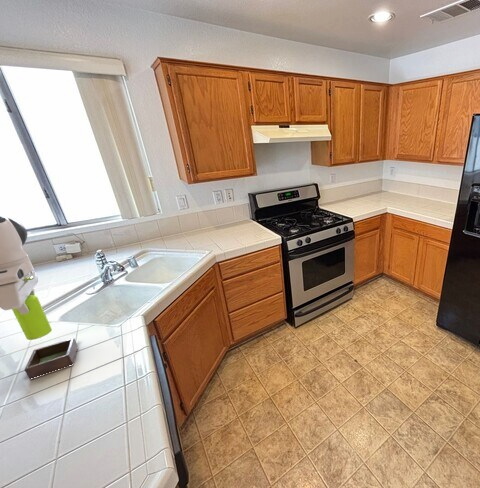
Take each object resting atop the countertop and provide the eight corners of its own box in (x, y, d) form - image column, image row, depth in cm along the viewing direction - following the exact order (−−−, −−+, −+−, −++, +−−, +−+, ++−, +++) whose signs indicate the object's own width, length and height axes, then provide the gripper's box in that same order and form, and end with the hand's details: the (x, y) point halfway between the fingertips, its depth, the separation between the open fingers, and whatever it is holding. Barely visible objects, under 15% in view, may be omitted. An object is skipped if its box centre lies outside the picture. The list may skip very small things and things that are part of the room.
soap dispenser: (56, 331, 88) (33, 278, 81) (26, 342, 83) (-1, 287, 76) (55, 324, 92) (32, 273, 85) (26, 334, 87) (-1, 280, 80)
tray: (30, 380, 85) (24, 369, 83) (38, 360, 93) (33, 349, 91) (73, 365, 90) (68, 355, 89) (78, 347, 99) (74, 337, 97)
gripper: (7, 259, 85) (25, 296, 90) (-21, 285, 69) (2, 327, 74) (34, 255, 88) (50, 290, 93) (14, 278, 73) (34, 319, 78)
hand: (29, 307), depth 84 cm, fingers closed on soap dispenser, 6 cm apart
